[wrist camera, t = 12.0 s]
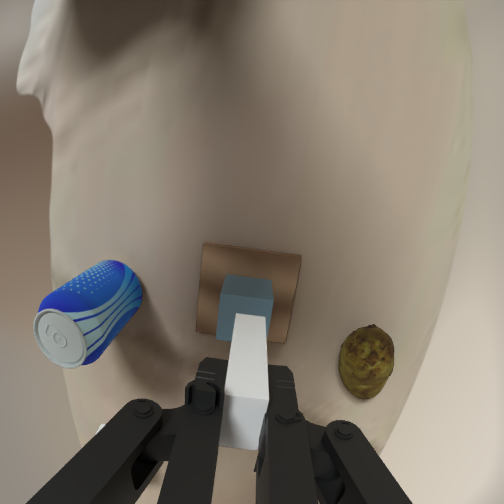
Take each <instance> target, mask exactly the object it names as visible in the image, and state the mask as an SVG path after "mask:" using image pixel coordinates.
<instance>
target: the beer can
mask: <svg viewBox="0 0 504 504" xmlns="http://www.w3.org/2000/svg"><path fill="white" fill-rule="evenodd" d="M141 301H142V287H141V284H140V281H139V279H138V277H137V276H136V274H135V273H134V272H133V271H132V270H131V269H130V268H129V267H128V266H127V265H125V264H124V263H122V262H119V261H116V260H105V261H101V262H99V263H98V264H96V265H94V266H93V267H91V268H90V269H88V270H86V271H85V272H83V273H82V274H80V275H78V276H77V277H75V278H74V279H72V280H71V281H69V282H67V283H66V284H64V285H63V286H61V287H60V288H58V289H57V290H55V291H54V292H52V293H50V294H49V295H48V296H46V297H45V299H44V300H43V301H42V302H41V305H40V307H39V310H38V314H37V316H36V317H35V320H34V325H33V330H34V336H35V339H36V341H37V343H38V345H39V347H40V349H41V350H42V352H43V353H44V354H45V355H46V357H48V358H49V359H50V360H51V361H52V362H54V363H55V364H57V365H59V366H61V367H64V368H76V367H79V366H80V365H87V364H90V363H93V362H94V361H96V360H97V359H98V358H99V357H100V356H101V354H102V353H103V352H104V351H105V349H106V348H107V347H108V346H109V344H110V343H111V342H112V341H113V339H114V338H115V337H116V336H117V334H118V333H119V332H120V331H121V330H122V328H123V327H124V326H125V325H126V323H127V322H128V321H129V320H130V319H131V317H132V316H133V315H134V314H135V312H136V311H137V310H138V309H139V307H140V305H141Z"/></svg>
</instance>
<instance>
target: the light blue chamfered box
mask: <svg viewBox="0 0 504 504" xmlns="http://www.w3.org/2000/svg"><path fill="white" fill-rule="evenodd" d="M273 302H274V298H273V289H272V281H271V280H267V279H259V278H252V277H244V276H237V275H229V274H226V277H225V280H224V283H223V287H222V290H221V293H220V302H219V312H218V321H217V331H216V340H223V341H230V342H232V336H233V329H234V323H235V316H236V313H239V314H246V315H254V316H262V317H265V321H266V342H267V336H268V331H269V325H270V319H271V314H272V308H273Z"/></svg>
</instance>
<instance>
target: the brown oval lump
mask: <svg viewBox="0 0 504 504" xmlns="http://www.w3.org/2000/svg"><path fill="white" fill-rule="evenodd" d="M393 366H394V345H393V342H392V339H391V338H390V336H389V335H388V334H387V333H386V332H384V331H383V330H382V329H380V328H378V327H377V326H376V325H375V324H372V325H368V326H366V327H363V328H358V329H357V330H356V331H353V333H351V334H350V335H349V336H348V337H347V338H346V340H345V341H344V343H343V344H342V345H341V352H340V362H339V371H340V376H341V379H342V381H343V383H344V385H345V386H346V388H347V389H348V390H349V391H350V392H351V393H352V394H353V395H355V396H356V397H358V398H360V399H370V398H373V397H375V396H376V395H377V394H378V393H379V392H380V391H381V390H382V388H383V387H384V385H385V383H386V381H387V379H388V377H389V376H390V375H391V373H392V371H393Z"/></svg>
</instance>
